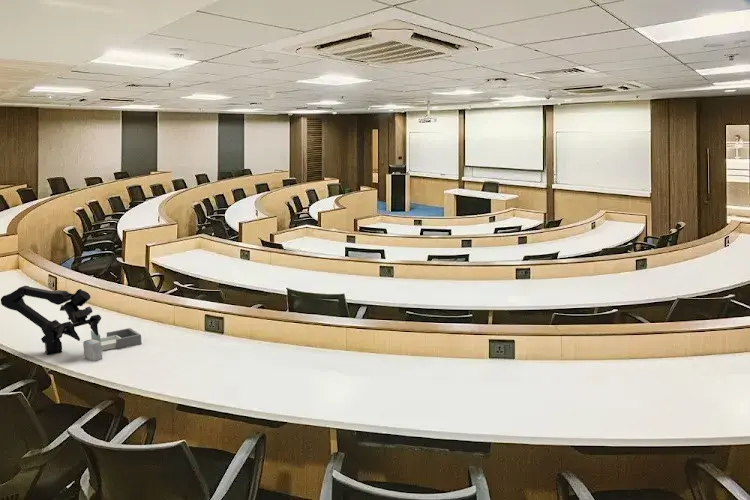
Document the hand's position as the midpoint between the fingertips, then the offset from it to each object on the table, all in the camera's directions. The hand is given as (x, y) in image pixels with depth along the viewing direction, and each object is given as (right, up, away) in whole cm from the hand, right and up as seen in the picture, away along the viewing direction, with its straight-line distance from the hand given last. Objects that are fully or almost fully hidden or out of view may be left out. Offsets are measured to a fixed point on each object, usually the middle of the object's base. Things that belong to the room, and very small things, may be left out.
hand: (88, 337), depth 268 cm
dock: (+7, -6, +23) cm, 25 cm away
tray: (+1, -7, +17) cm, 19 cm away
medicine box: (+2, -10, 0) cm, 11 cm away
